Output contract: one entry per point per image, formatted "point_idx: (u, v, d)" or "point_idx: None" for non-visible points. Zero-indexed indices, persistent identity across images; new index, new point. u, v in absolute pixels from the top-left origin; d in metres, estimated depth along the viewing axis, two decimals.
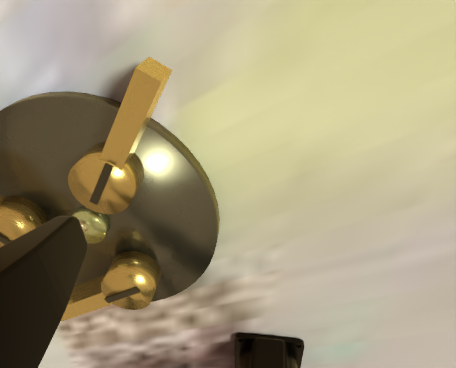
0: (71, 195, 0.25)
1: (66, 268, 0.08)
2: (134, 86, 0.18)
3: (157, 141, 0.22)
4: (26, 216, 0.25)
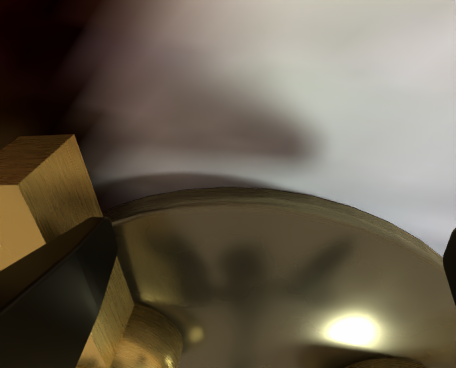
0: (260, 365, 0.13)
1: (100, 270, 0.08)
2: None
3: None
4: None
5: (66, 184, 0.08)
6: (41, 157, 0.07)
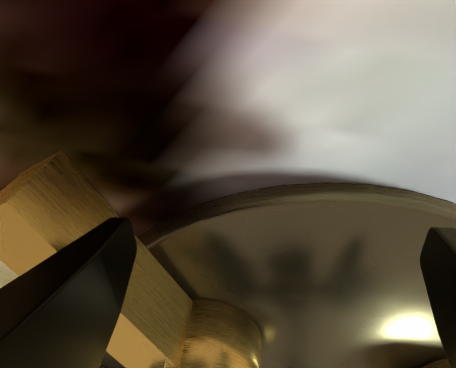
0: (336, 365, 0.13)
1: (121, 271, 0.07)
2: None
3: None
4: (256, 367, 0.11)
5: (66, 195, 0.08)
6: (31, 176, 0.08)
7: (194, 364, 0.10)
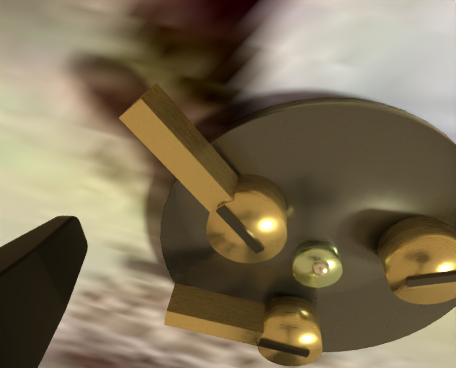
0: (333, 228, 0.20)
1: (66, 268, 0.08)
2: None
3: None
4: (281, 206, 0.17)
5: (163, 103, 0.16)
6: (146, 92, 0.15)
7: (242, 198, 0.16)
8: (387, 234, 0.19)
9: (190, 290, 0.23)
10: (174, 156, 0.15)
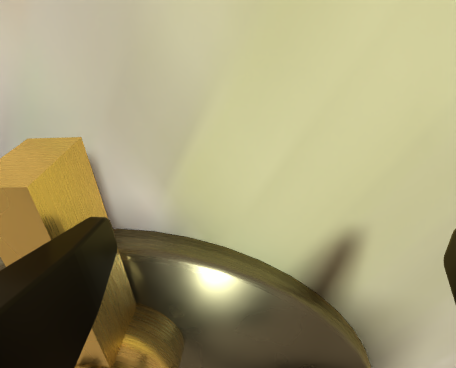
0: None
1: (99, 270, 0.08)
2: None
3: (159, 269, 0.11)
4: None
5: None
6: None
7: None
8: None
9: None
10: None
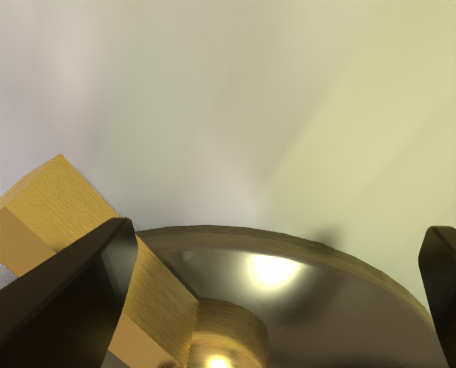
0: None
1: (122, 271, 0.07)
2: (6, 256, 0.08)
3: (258, 266, 0.10)
4: None
5: None
6: None
7: None
8: None
9: None
10: None
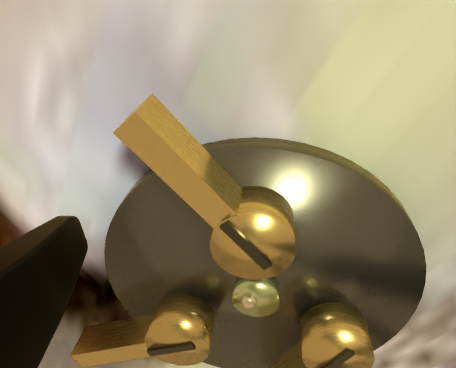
0: (221, 270, 0.21)
1: (66, 268, 0.08)
2: (134, 145, 0.14)
3: (289, 160, 0.16)
4: (168, 311, 0.21)
5: (88, 336, 0.24)
6: (78, 342, 0.24)
7: (146, 336, 0.22)
8: None
9: None
10: (108, 356, 0.23)
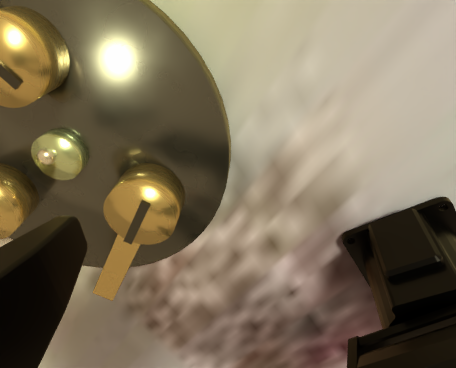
0: (23, 128, 0.20)
1: (66, 268, 0.08)
2: None
3: None
4: None
5: None
6: None
7: None
8: None
9: None
10: None
